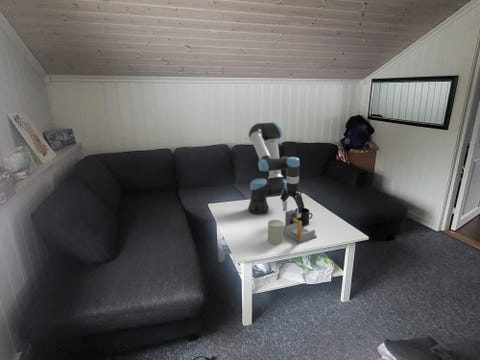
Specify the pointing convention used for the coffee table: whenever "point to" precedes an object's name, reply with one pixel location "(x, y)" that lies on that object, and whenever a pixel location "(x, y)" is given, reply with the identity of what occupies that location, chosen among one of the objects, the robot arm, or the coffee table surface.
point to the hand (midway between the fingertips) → (291, 214)
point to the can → (275, 232)
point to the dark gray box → (290, 217)
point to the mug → (304, 216)
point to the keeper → (298, 232)
